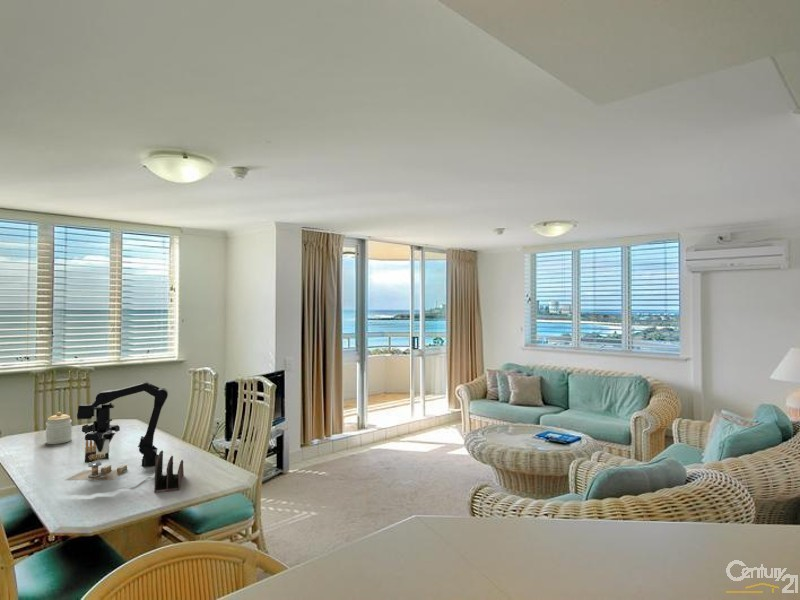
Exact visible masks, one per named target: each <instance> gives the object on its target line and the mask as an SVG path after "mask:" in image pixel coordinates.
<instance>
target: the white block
mask: <svg viewBox="0 0 800 600" xmlns="http://www.w3.org/2000/svg"><path fill="white" fill-rule="evenodd" d="M108 452H109V453H110V443H109V439H105V442H104V445H103V448H102V451H101V452H99V451H98V449H97V446H96V454H106V453H108Z"/></svg>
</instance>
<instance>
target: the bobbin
mask: <svg viewBox="0 0 800 600" xmlns="http://www.w3.org/2000/svg"><path fill="white" fill-rule="evenodd" d="M87 465H88V468H91V470H92V474H90V475H88V477H89V478H95V477H99V476H101V473H98V470H99V467H100V466H102V462H101V461H99V462H98V461H97V462H95V461H94V462H91V463H88V464H87Z"/></svg>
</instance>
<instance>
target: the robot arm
mask: <svg viewBox="0 0 800 600" xmlns="http://www.w3.org/2000/svg"><path fill="white" fill-rule="evenodd" d="M141 392H145V393H147V394H149V395H151V396H153V397H154V401H153V407H152V408H153V409H152V411H151V412H152V413H151V416H150V419H149V421H148V425H147V430H146V432H145V434H144V436H143V435H142V436H140V439H139V442H138V446H137V447H138V452H139V453H140V454H141V455H143V456H142V459H141V466H142V467H145V468H150V467H151V468H152V467H155V463H156V460H157V458H158V455H159V454H158V448H157V447H156V446H155V445H154V436H155V432H156V428H157V425H158V422H159V419H160V415H161V411H162V409H163V406H164V405H165V403H166V401H167V398H168V396H169V391H168V389H167V388H165V387H159V386H156V385H153V384H152V383H150V382H148V381H144V382H142V383H137V384H134V385H129V386H126V387H122V388H119V389H108V390H101V391H99V392H98V394H96V396H95V400H94V401H93V402H92V403H91V404H78V407H77V412H76V418H77V420H79V421H82V420H92V419H93V417H95V420H94V421H93V422H92V424H90V425H89V424H84V425H82V426H81V432H83V433H84V435H85V436H84V441H86V440H88V441H90V440H92V442H93V443H94V442H95V444H96V446H97V449H98V451H99V452H101V451H102V448H103V445H104V442H105V439H109V444H110V443H111V442H112V439H113V438H114V436H115V435H116V433H118V432H120V429H121V427H120V425H118V424H111V422H112V421H113V419H112V418H111V409H114V408H115V404H112V402H113V401H115V400H117V399H119V398H122V397H126V396H130V395H133V394H137V393H141ZM113 431H114V432H113Z"/></svg>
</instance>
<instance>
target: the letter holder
mask: <svg viewBox="0 0 800 600" xmlns="http://www.w3.org/2000/svg"><path fill="white" fill-rule="evenodd" d="M180 460H181V461H179V466H178V469H177V473H174V455H171V456H170V458H169V460H168V463H167V466H166V469H165V471H166V474H164V475H163V465H164V464H163V463H164V450H161V451H160V452H159V454H158V458H157V460H156V463H155V466H154V468H155V469H154V490H153V491H154V493H155V494H157V493H165V492H166V493H167V492H174V491H180V489H181V485H182V482H183V478H184V475H185V474H184V459H180Z"/></svg>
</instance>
